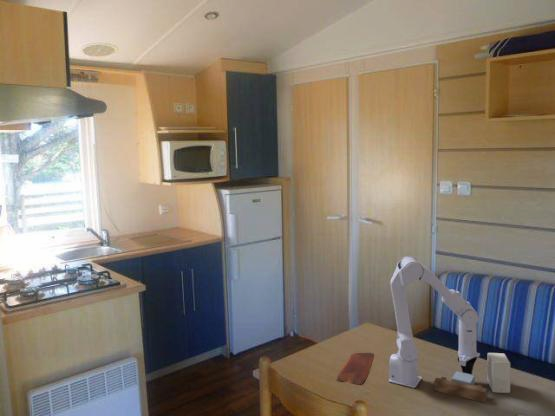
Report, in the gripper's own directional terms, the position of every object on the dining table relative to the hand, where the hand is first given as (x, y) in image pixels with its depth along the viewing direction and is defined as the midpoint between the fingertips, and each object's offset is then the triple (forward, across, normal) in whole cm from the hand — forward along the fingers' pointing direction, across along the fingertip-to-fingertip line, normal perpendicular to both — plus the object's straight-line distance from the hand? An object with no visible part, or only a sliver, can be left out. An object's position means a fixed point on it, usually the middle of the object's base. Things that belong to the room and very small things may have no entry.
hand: (467, 377), depth 171 cm
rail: (+1, -10, 0) cm, 11 cm away
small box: (+2, +1, -10) cm, 10 cm away
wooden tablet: (+2, -8, +38) cm, 39 cm away
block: (+2, -6, 0) cm, 6 cm away
